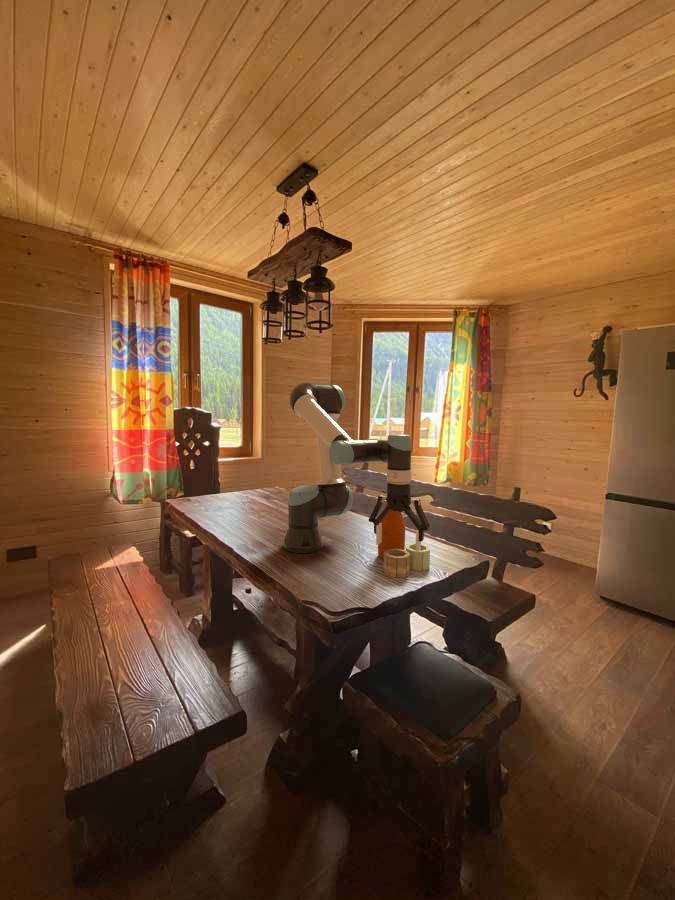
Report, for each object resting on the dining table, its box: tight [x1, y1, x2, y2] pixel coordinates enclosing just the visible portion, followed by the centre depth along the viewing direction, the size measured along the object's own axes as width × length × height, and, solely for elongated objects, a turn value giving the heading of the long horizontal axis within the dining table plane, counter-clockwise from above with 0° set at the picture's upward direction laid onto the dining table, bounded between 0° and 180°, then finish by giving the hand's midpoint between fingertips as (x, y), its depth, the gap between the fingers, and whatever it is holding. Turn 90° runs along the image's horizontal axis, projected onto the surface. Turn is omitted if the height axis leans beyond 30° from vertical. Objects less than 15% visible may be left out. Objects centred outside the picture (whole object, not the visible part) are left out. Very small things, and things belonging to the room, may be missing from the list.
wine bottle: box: [377, 481, 406, 560], centre depth 135 cm, size 10×10×30 cm
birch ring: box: [382, 549, 411, 579], centre depth 122 cm, size 8×8×6 cm
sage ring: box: [405, 542, 431, 572], centre depth 128 cm, size 8×8×6 cm
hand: (397, 547), depth 121 cm, fingers open, 13 cm apart
